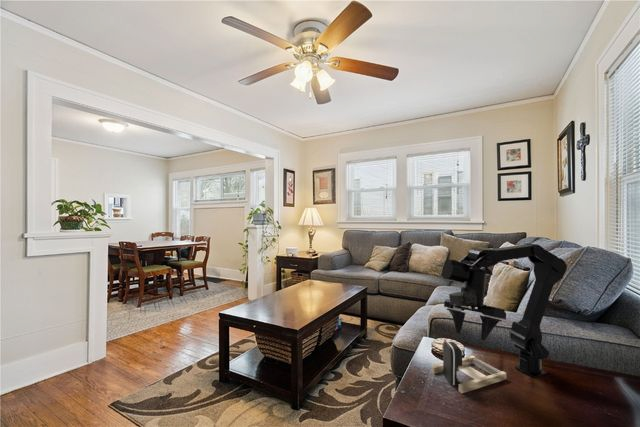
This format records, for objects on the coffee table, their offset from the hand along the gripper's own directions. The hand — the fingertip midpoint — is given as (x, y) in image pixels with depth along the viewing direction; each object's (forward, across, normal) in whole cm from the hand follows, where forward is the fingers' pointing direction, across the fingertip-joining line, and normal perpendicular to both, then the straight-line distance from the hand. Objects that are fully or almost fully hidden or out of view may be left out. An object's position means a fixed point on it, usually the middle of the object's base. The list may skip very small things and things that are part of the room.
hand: (470, 336), depth 92 cm
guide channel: (+12, -5, +7) cm, 15 cm away
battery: (+14, -5, 0) cm, 15 cm away
